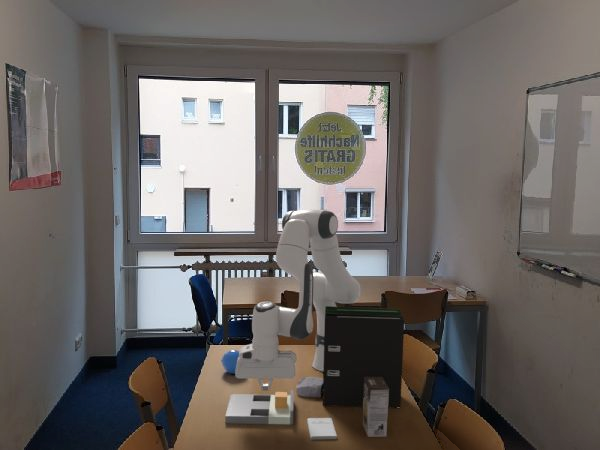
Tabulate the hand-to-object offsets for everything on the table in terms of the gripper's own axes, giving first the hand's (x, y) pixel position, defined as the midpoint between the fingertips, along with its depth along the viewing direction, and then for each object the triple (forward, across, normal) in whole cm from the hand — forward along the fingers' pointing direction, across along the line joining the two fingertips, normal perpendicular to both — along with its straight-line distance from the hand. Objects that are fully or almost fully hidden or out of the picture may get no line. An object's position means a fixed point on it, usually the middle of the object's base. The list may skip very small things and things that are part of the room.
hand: (265, 389), depth 191 cm
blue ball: (+8, +14, -35) cm, 39 cm away
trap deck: (+8, +2, +1) cm, 8 cm away
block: (+5, -5, +1) cm, 8 cm away
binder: (+9, -34, -11) cm, 36 cm away
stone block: (+9, -16, -18) cm, 25 cm away
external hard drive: (+9, -18, +12) cm, 24 cm away
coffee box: (+8, -35, +12) cm, 38 cm away
